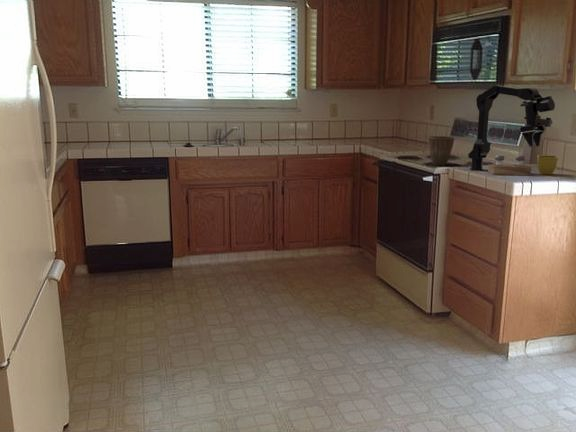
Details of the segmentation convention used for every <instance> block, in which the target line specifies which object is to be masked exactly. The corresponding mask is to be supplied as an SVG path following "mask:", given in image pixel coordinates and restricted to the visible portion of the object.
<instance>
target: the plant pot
mask: <svg viewBox="0 0 576 432" xmlns="http://www.w3.org/2000/svg"><path fill="white" fill-rule="evenodd" d="M427 140H428V141H427V142H428V148H429V154H430V158H431V161H432V162H431V163H432V164H433V165H435V166H446V165H447V163H448V161H449V159H450V156H451V153H452V150H453V146H454V142H455V137H454V136H445V135H444V136H440V135H439V136H437V135H434V136H427Z"/></svg>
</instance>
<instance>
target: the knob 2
mask: <svg viewBox="0 0 576 432" xmlns="http://www.w3.org/2000/svg"><path fill="white" fill-rule="evenodd" d="M515 161H516V165H517V166H523V165H524V161H526V155H516V156H515Z"/></svg>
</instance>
